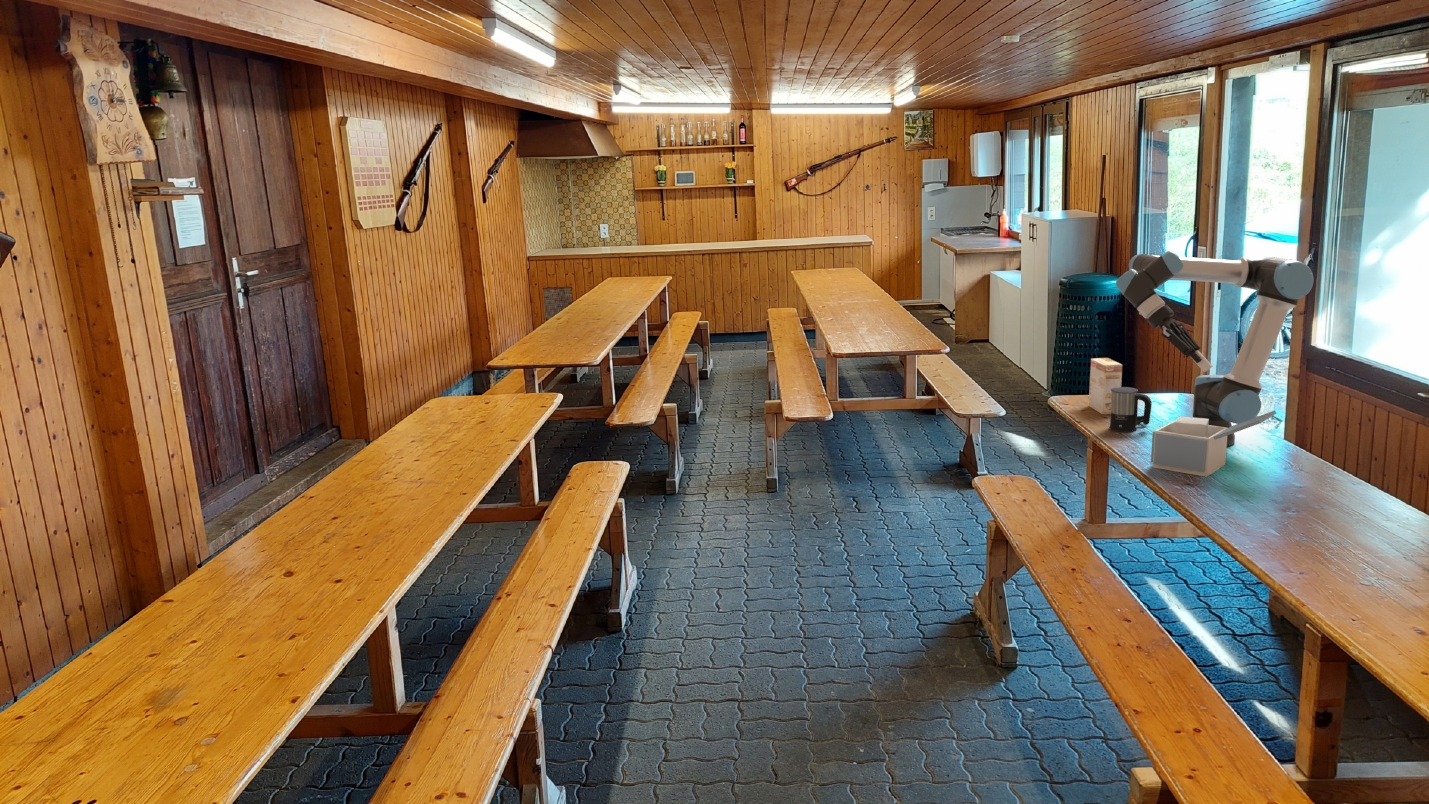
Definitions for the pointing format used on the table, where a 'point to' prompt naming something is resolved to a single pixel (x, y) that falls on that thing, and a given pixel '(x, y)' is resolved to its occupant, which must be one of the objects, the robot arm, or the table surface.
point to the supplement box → (1192, 426)
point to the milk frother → (1128, 409)
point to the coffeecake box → (1103, 383)
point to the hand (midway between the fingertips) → (1208, 369)
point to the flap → (1245, 425)
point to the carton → (1188, 450)
